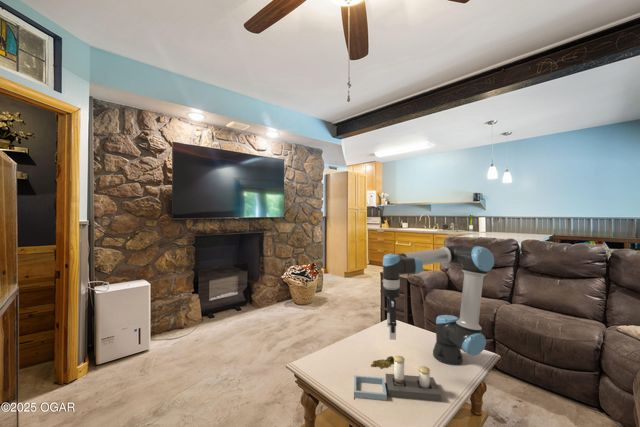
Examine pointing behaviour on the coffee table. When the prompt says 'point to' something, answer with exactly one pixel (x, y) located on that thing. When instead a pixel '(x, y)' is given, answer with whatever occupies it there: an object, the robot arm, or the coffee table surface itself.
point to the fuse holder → (412, 389)
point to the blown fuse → (398, 371)
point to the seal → (383, 363)
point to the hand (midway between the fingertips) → (391, 332)
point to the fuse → (424, 377)
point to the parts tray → (370, 394)
